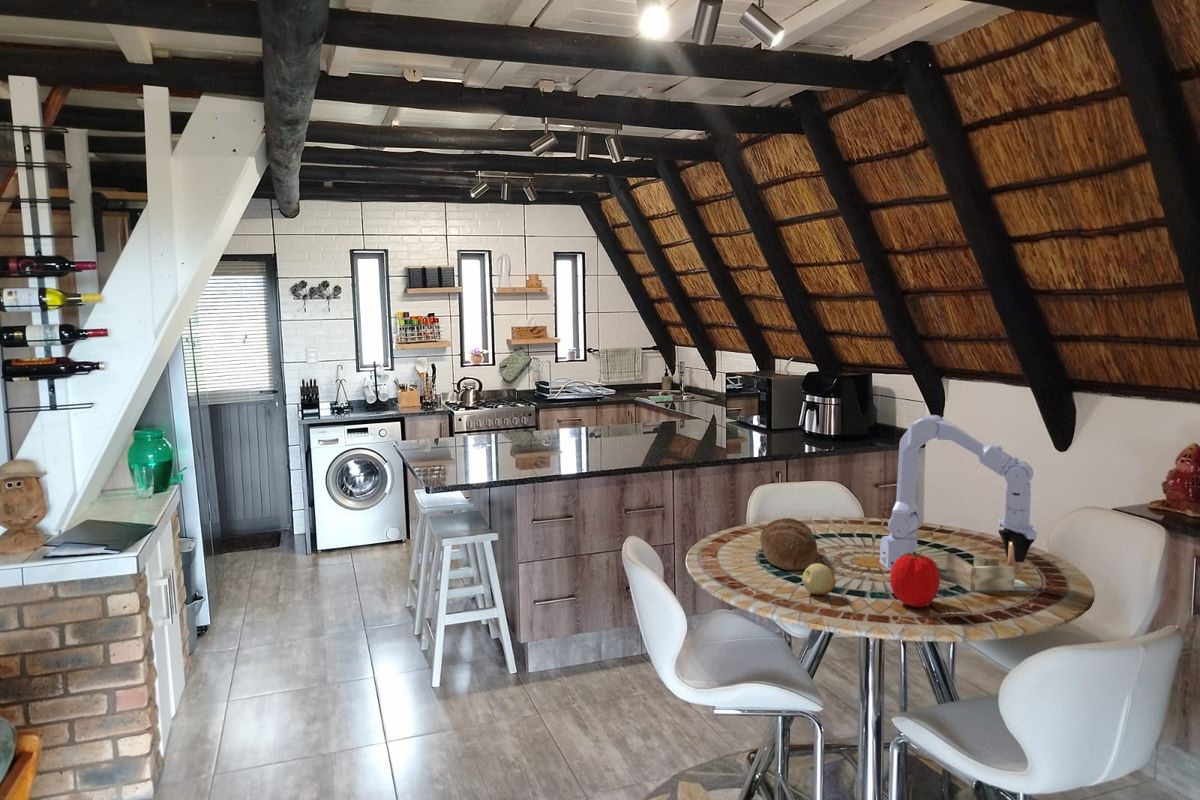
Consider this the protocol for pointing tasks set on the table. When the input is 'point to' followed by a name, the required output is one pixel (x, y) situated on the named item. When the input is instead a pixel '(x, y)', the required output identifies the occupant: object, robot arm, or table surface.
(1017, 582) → the pad
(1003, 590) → the board
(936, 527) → the table surface
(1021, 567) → the peg
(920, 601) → the tomato
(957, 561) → the tan piece
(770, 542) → the bread
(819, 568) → the fruit
